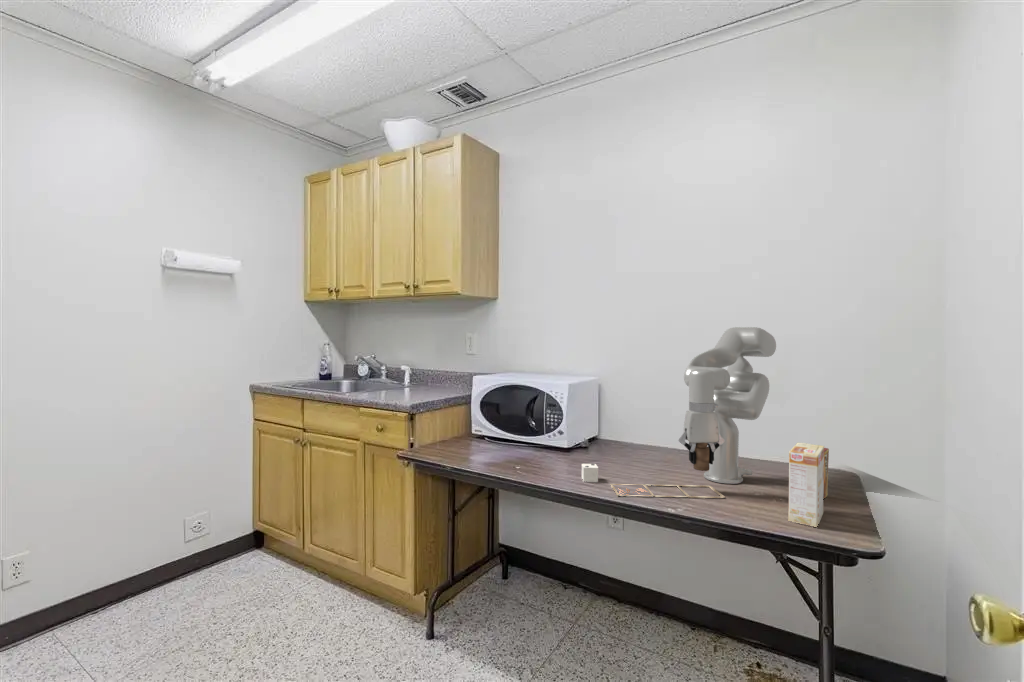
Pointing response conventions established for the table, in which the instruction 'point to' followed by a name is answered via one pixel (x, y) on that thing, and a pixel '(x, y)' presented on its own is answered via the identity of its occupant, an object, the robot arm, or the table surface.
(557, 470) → the table surface
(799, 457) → the coffeecake box
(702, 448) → the pawn
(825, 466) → the candy box
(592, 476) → the die
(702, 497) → the board
